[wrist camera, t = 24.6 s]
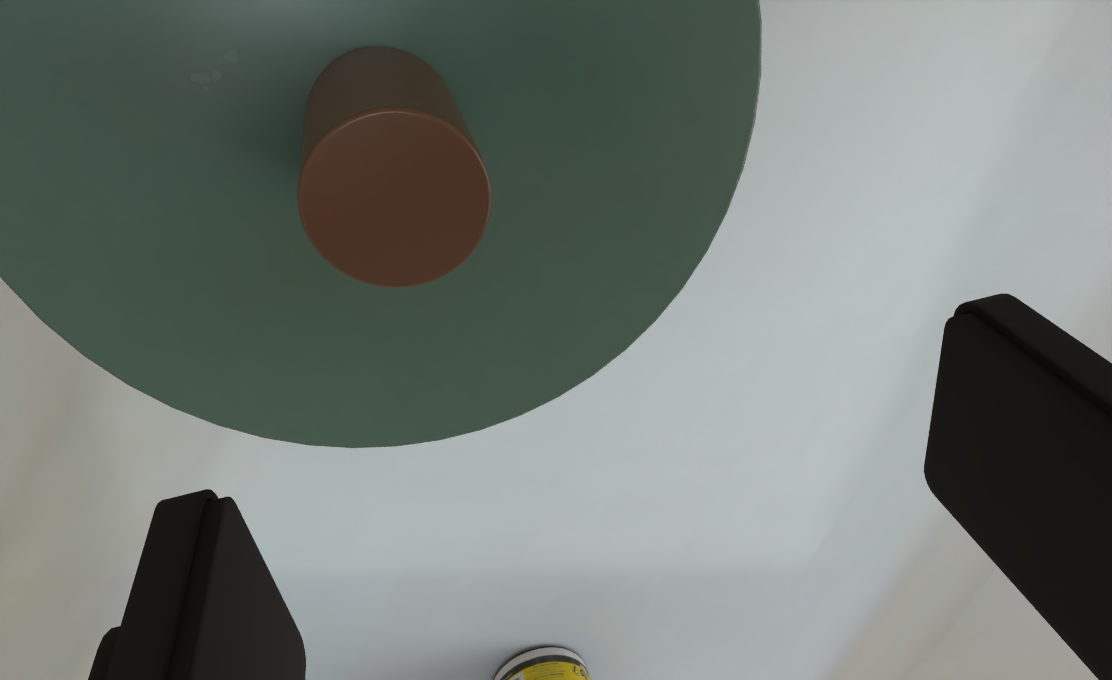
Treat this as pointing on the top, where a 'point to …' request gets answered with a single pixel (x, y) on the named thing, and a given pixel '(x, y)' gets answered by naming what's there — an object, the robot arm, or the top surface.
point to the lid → (365, 196)
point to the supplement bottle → (545, 666)
